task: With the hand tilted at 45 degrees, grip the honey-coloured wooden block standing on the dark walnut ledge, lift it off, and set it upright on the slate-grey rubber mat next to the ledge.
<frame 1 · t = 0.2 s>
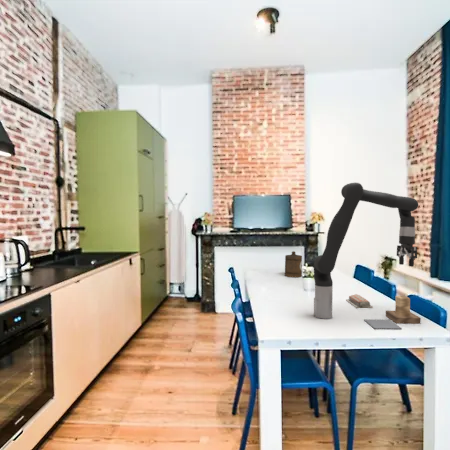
hand: (406, 265, 178), 28 cm above the table, tool pointing down, fingers open, 8 cm apart
walnut ledge: (402, 319, 174), on the table
wooden container: (293, 276, 294), on the table
maple block: (402, 314, 174), point 3 cm above the table, touching walnut ledge
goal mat: (382, 324, 166), on the table
packaged product: (359, 305, 203), on the table
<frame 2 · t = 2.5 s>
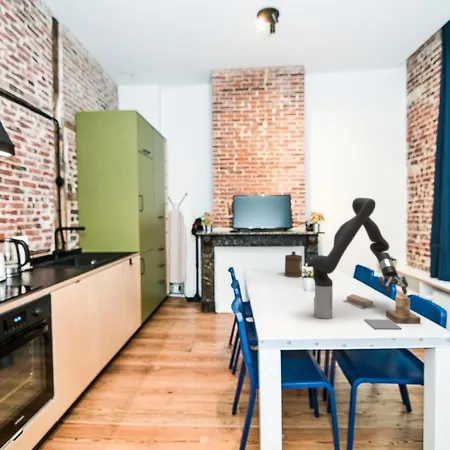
hand: (397, 293, 179), 12 cm above the table, tool tilted 45°, fingers open, 8 cm apart
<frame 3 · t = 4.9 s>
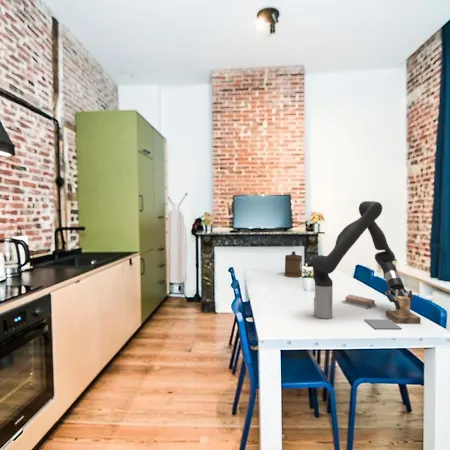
hand: (404, 308, 172), 7 cm above the table, tool tilted 45°, fingers closed on maple block, 5 cm apart
maple block: (402, 314, 174), point 3 cm above the table, touching gripper, walnut ledge
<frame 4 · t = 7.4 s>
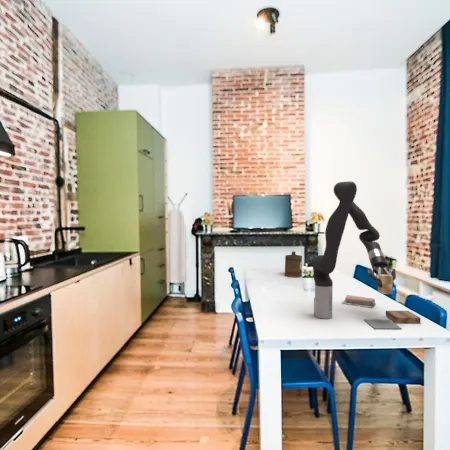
hand: (386, 286, 165), 20 cm above the table, tool tilted 45°, fingers closed on maple block, 5 cm apart
maple block: (384, 292, 167), point 16 cm above the table, touching gripper
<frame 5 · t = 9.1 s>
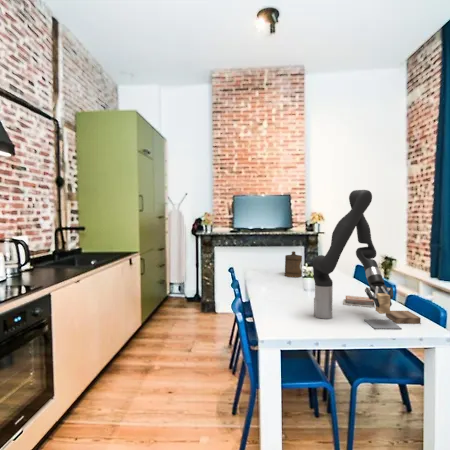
hand: (384, 306, 164), 10 cm above the table, tool tilted 45°, fingers closed on maple block, 5 cm apart
maple block: (382, 312, 166), point 6 cm above the table, touching gripper
when the fingers open (6 cm above the table, at t = 10.4 s): maple block drops 2 cm, resting on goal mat.
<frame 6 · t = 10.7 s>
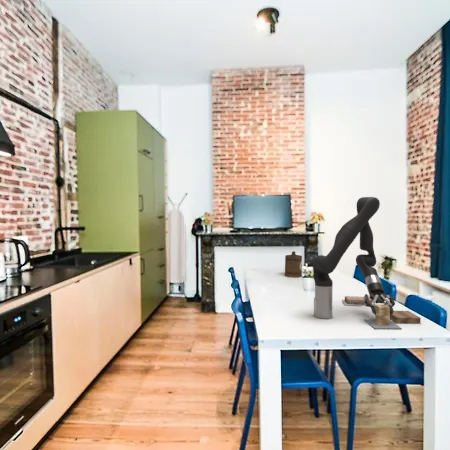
hand: (383, 313, 165), 6 cm above the table, tool tilted 45°, fingers open, 7 cm apart
maple block: (382, 323, 166), point 1 cm above the table, touching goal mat
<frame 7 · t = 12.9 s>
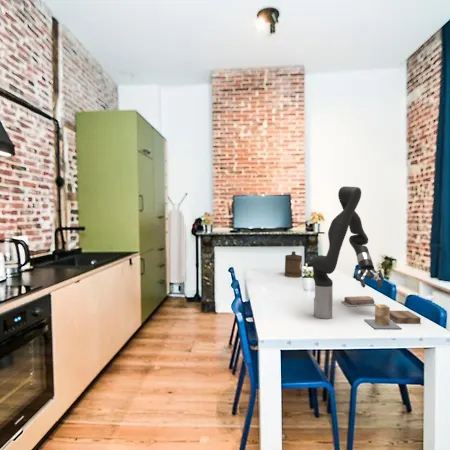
hand: (372, 287, 177), 17 cm above the table, tool tilted 45°, fingers open, 8 cm apart
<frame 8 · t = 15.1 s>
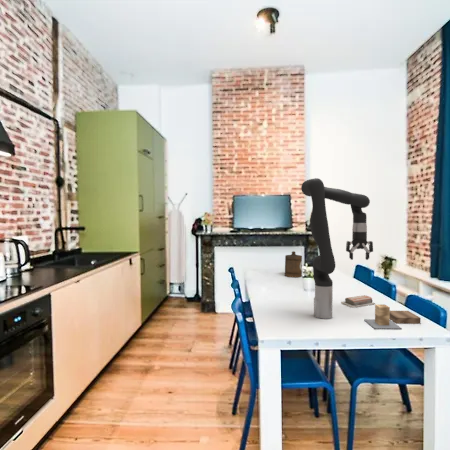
hand: (359, 259, 186), 30 cm above the table, tool pointing down, fingers open, 8 cm apart
at the end: maple block inside the target area on the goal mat (0.1 cm from its centre), point 0.6 cm above the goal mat's base; maple block tilted 0°; the gripper is holding nothing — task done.
